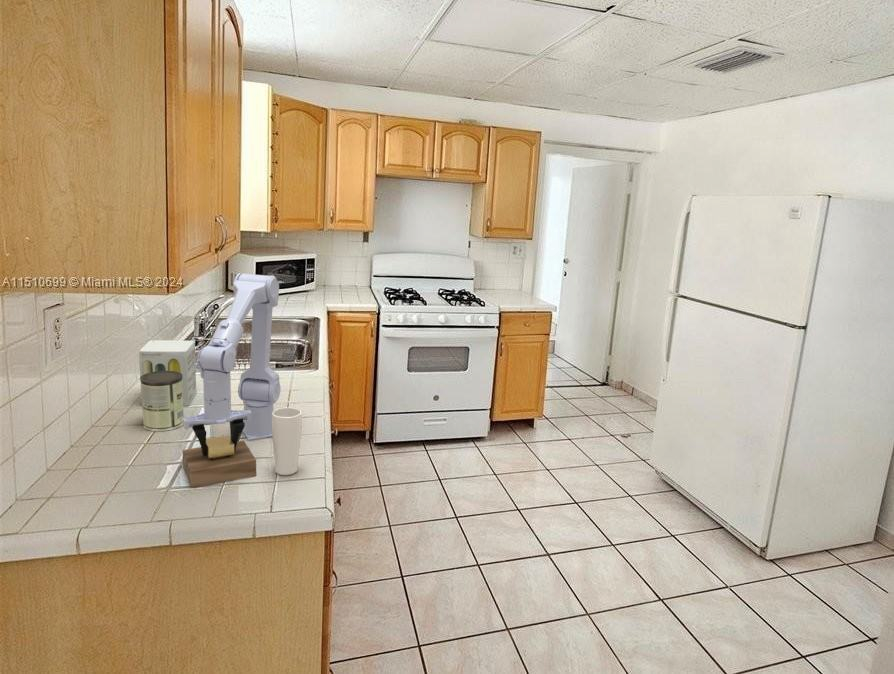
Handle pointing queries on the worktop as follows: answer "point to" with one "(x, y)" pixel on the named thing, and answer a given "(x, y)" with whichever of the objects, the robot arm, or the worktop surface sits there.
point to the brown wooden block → (218, 466)
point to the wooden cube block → (219, 447)
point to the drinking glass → (286, 439)
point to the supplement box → (171, 362)
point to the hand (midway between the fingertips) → (218, 452)
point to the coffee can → (162, 400)
